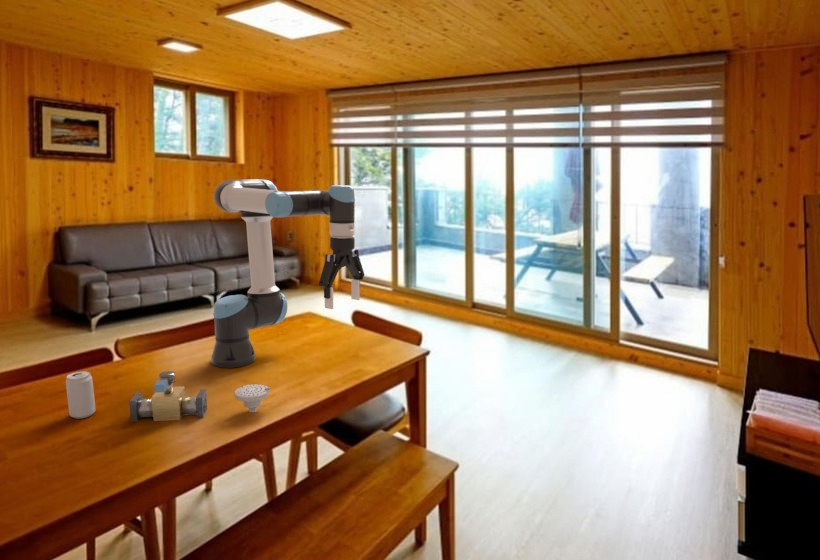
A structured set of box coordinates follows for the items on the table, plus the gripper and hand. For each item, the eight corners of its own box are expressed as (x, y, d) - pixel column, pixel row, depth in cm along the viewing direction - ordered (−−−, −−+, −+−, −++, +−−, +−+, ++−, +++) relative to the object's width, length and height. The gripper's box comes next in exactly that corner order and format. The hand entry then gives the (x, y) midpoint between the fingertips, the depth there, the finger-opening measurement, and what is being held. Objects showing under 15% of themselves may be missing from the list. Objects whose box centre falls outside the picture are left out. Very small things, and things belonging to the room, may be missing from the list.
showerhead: (267, 393, 154) (231, 394, 153) (268, 417, 155) (232, 418, 154) (273, 380, 163) (238, 381, 162) (274, 403, 164) (239, 404, 164)
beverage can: (89, 407, 160) (84, 368, 157) (100, 413, 156) (96, 373, 154) (65, 415, 155) (60, 375, 152) (76, 421, 151) (71, 380, 149)
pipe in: (180, 418, 154) (179, 398, 153) (185, 409, 160) (184, 390, 158) (203, 417, 155) (201, 397, 154) (207, 408, 161) (206, 389, 159)
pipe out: (131, 421, 152) (129, 401, 150) (138, 412, 158) (136, 392, 156) (154, 420, 153) (152, 400, 151) (160, 411, 158) (158, 391, 157)
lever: (162, 379, 156) (161, 371, 155) (176, 378, 156) (176, 370, 156) (151, 393, 146) (151, 384, 146) (167, 392, 147) (167, 384, 146)
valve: (153, 421, 152) (150, 388, 150) (160, 410, 159) (158, 378, 157) (180, 419, 153) (177, 387, 151) (186, 408, 160) (183, 377, 158)
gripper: (326, 242, 156) (326, 314, 160) (375, 233, 177) (374, 297, 181) (305, 239, 159) (307, 310, 164) (356, 231, 180) (356, 294, 185)
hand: (342, 303), depth 173 cm, fingers open, 13 cm apart
